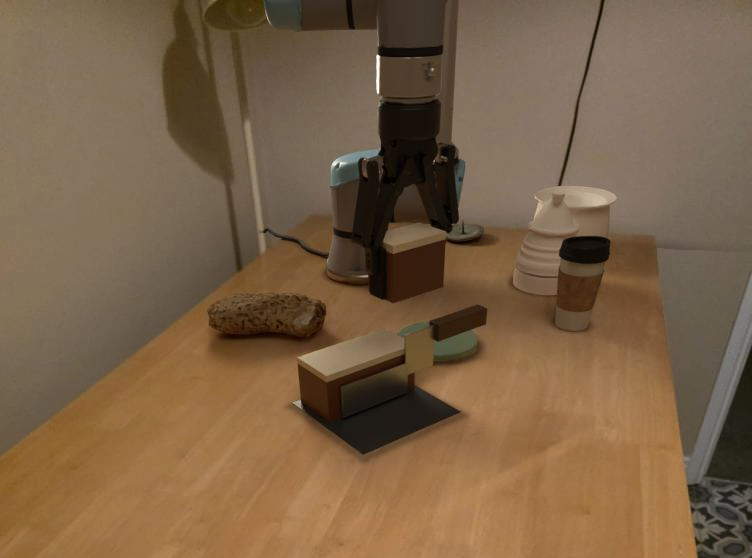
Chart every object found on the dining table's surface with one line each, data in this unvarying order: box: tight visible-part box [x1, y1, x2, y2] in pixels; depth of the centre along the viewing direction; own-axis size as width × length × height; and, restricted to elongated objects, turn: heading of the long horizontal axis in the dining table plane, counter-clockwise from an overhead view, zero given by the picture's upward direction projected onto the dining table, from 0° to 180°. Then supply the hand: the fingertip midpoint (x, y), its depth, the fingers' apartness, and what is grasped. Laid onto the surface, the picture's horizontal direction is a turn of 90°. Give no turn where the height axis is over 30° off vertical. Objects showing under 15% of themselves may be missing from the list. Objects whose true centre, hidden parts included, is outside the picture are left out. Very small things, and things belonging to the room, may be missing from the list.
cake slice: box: [367, 222, 447, 304], centre depth 90 cm, size 6×9×8 cm, turn 127°
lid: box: [446, 218, 485, 242], centre depth 162 cm, size 10×10×5 cm
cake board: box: [292, 384, 462, 456], centre depth 99 cm, size 18×18×1 cm
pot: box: [533, 185, 618, 238], centre depth 150 cm, size 22×17×12 cm
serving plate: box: [396, 321, 479, 362], centre depth 116 cm, size 14×14×2 cm
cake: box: [296, 327, 416, 423], centre depth 99 cm, size 16×8×8 cm, turn 127°
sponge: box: [206, 292, 327, 338], centre depth 120 cm, size 13×8×20 cm
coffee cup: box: [554, 236, 612, 332], centre depth 118 cm, size 8×8×15 cm
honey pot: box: [512, 191, 580, 296], centre depth 133 cm, size 13×13×18 cm
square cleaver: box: [340, 304, 488, 418], centre depth 99 cm, size 27×2×10 cm, turn 127°
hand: (405, 287), depth 92 cm, fingers closed on cake slice, 9 cm apart
